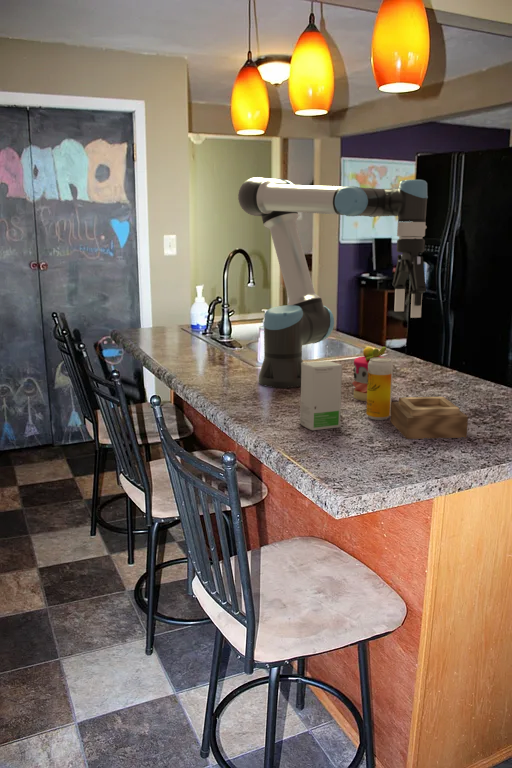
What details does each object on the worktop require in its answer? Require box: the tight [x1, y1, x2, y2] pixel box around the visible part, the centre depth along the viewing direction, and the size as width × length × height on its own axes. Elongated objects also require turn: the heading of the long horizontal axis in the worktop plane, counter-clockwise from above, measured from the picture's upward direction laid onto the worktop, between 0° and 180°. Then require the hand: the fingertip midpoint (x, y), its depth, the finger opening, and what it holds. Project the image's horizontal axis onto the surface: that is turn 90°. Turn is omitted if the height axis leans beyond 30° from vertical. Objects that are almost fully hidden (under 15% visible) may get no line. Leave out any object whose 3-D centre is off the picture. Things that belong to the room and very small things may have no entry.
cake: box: [351, 346, 387, 402], centre depth 185 cm, size 10×11×15 cm
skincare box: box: [299, 360, 343, 431], centre depth 159 cm, size 8×7×16 cm
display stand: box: [389, 396, 469, 440], centre depth 157 cm, size 14×14×6 cm
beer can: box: [365, 356, 394, 421], centre depth 166 cm, size 6×6×15 cm
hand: (407, 314), depth 188 cm, fingers open, 13 cm apart
